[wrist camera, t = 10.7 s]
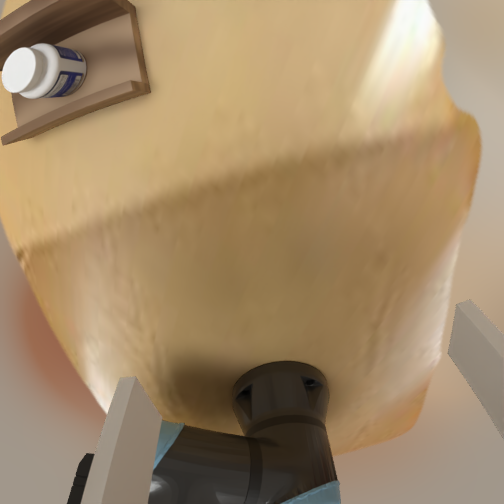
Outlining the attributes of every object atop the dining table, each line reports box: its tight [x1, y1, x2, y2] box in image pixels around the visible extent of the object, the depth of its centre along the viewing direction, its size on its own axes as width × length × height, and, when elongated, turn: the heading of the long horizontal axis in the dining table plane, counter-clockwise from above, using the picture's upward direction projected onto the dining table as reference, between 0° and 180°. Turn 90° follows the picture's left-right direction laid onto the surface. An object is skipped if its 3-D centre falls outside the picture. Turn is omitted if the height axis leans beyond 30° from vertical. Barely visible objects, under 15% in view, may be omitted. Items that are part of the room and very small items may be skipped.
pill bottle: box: [2, 43, 86, 99], centre depth 22 cm, size 5×5×9 cm
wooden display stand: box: [0, 0, 151, 145], centre depth 22 cm, size 11×16×12 cm, turn 100°
